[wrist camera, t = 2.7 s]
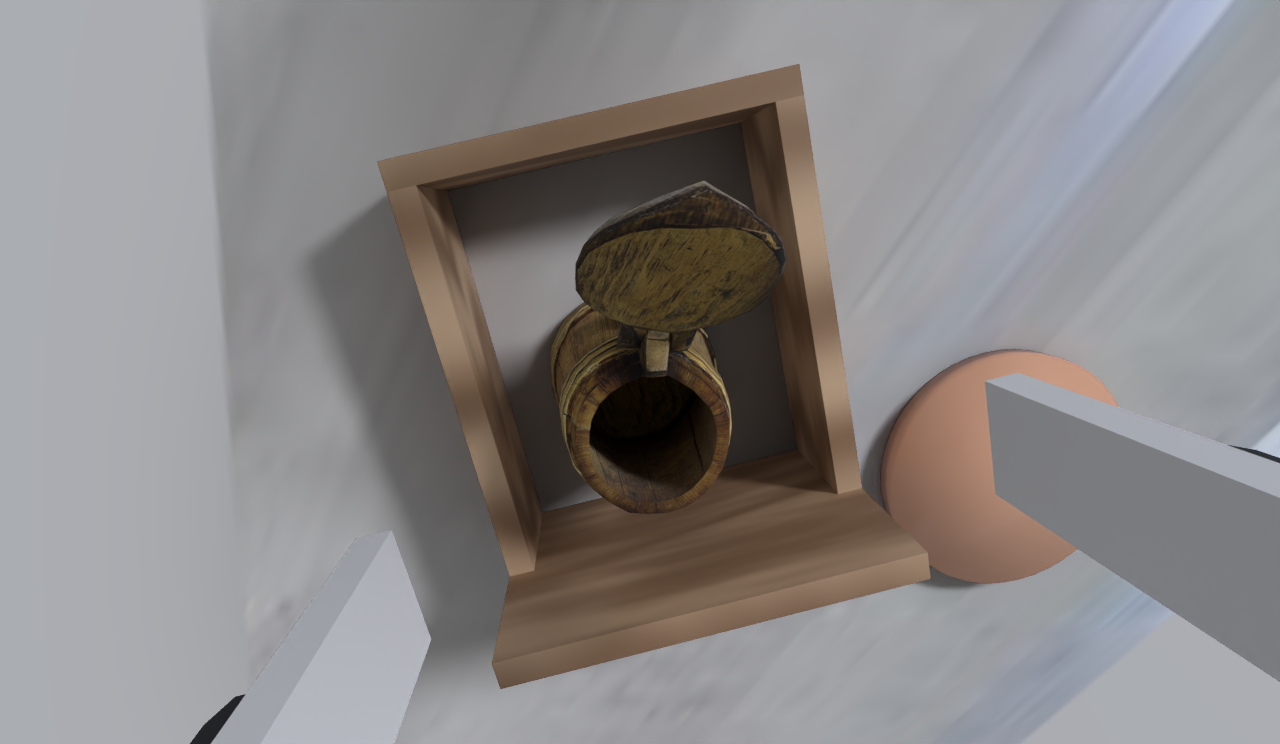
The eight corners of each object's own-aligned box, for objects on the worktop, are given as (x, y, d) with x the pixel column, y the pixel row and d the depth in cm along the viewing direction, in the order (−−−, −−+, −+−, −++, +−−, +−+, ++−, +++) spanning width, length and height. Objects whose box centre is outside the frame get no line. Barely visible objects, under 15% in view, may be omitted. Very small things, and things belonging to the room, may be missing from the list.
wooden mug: (727, 203, 33) (892, 189, 15) (707, 449, 36) (825, 672, 18) (553, 193, 32) (516, 167, 14) (549, 447, 35) (515, 678, 18)
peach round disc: (865, 381, 36) (878, 388, 34) (1102, 323, 36) (1124, 328, 35) (895, 593, 39) (907, 608, 38) (1110, 538, 40) (1130, 550, 38)
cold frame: (415, 171, 31) (314, 145, 19) (759, 91, 31) (862, 19, 20) (527, 536, 36) (500, 688, 24) (820, 463, 37) (930, 578, 25)
